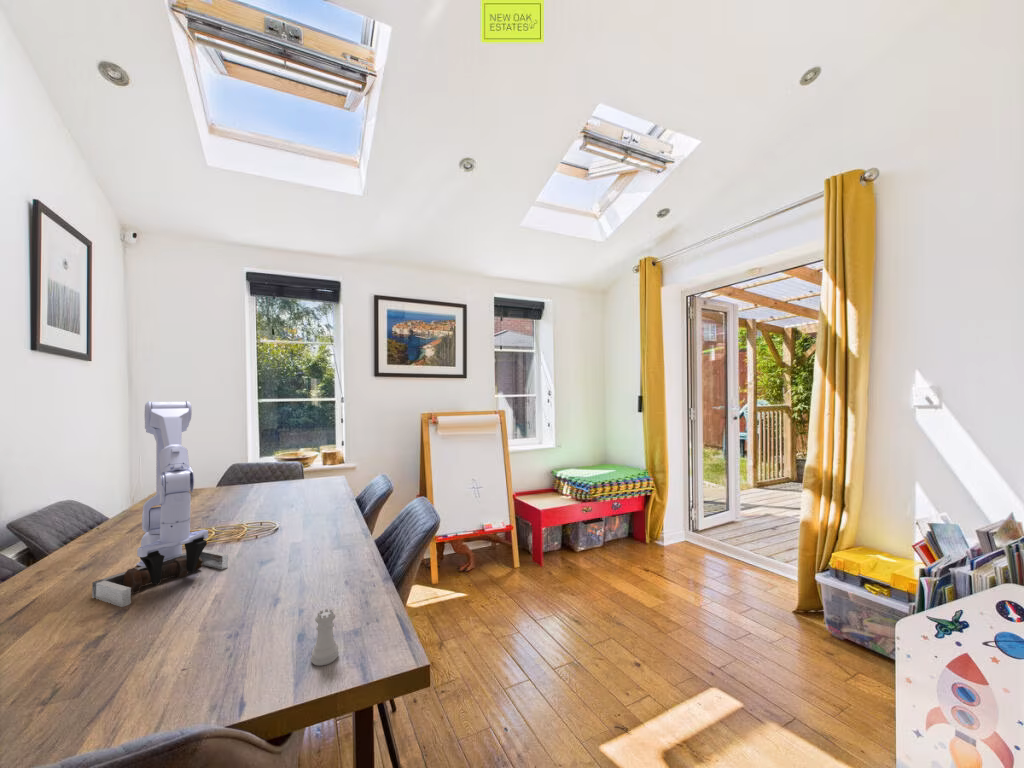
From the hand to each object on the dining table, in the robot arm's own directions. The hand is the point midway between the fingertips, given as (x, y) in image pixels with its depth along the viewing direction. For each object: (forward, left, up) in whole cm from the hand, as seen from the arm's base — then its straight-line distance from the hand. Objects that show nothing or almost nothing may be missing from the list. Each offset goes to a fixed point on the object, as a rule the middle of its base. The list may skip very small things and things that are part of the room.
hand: (174, 576), depth 103 cm
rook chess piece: (+57, -9, -2) cm, 58 cm away
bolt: (-4, +1, -2) cm, 4 cm away
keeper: (-3, 0, -2) cm, 4 cm away
